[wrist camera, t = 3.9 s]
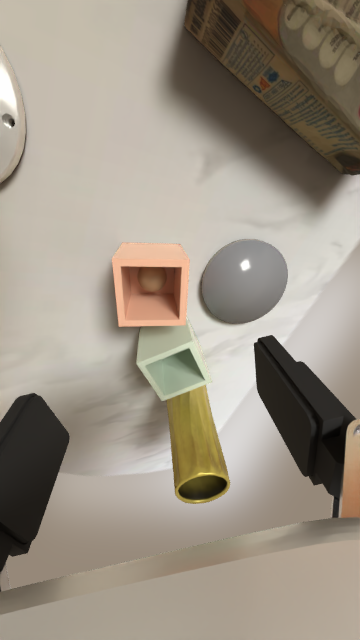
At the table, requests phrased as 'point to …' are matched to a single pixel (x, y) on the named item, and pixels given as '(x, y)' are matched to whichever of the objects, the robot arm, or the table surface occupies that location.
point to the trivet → (244, 281)
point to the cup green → (171, 359)
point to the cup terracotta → (147, 305)
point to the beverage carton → (293, 64)
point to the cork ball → (152, 278)
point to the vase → (196, 448)
